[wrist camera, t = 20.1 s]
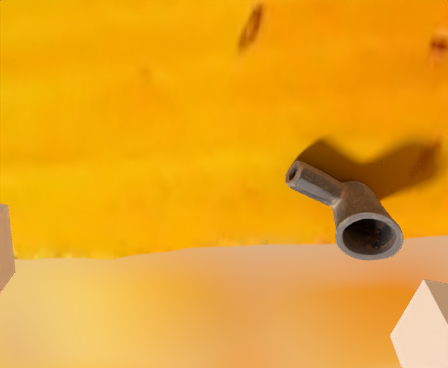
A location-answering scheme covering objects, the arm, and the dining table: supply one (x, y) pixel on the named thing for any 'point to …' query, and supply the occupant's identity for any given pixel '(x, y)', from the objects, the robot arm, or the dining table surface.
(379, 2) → the dining table surface
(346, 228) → the pipe
